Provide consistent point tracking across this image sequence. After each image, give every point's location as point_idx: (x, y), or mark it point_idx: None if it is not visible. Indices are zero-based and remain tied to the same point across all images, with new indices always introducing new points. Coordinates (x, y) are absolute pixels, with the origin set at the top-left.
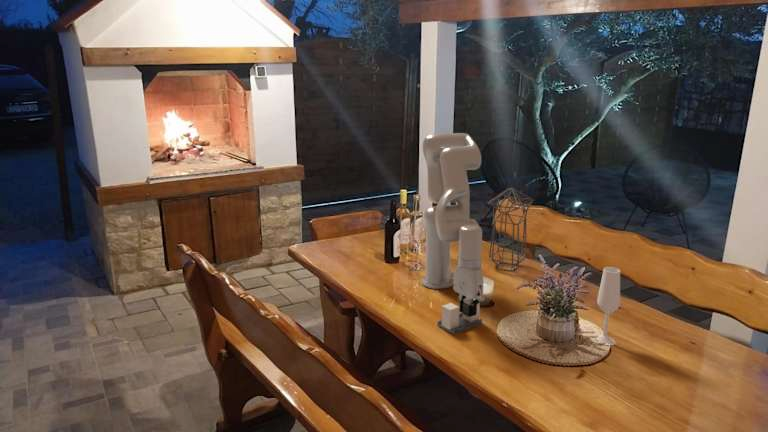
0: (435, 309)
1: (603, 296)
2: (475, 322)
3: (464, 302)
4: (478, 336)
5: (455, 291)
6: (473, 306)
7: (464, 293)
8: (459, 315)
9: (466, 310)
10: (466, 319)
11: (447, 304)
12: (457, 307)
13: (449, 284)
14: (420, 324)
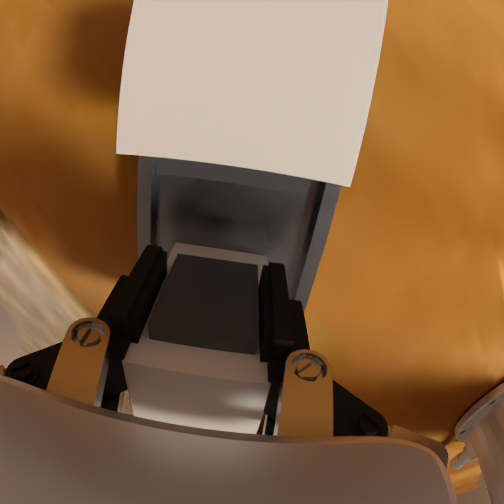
0: (478, 257)
1: None
2: (139, 249)
3: (243, 355)
4: (46, 140)
5: (387, 443)
6: (92, 328)
7: (105, 462)
8: (303, 264)
9: (200, 286)
10: (224, 250)
11: (356, 80)
12: (118, 109)
13: (465, 424)
14: (454, 14)
